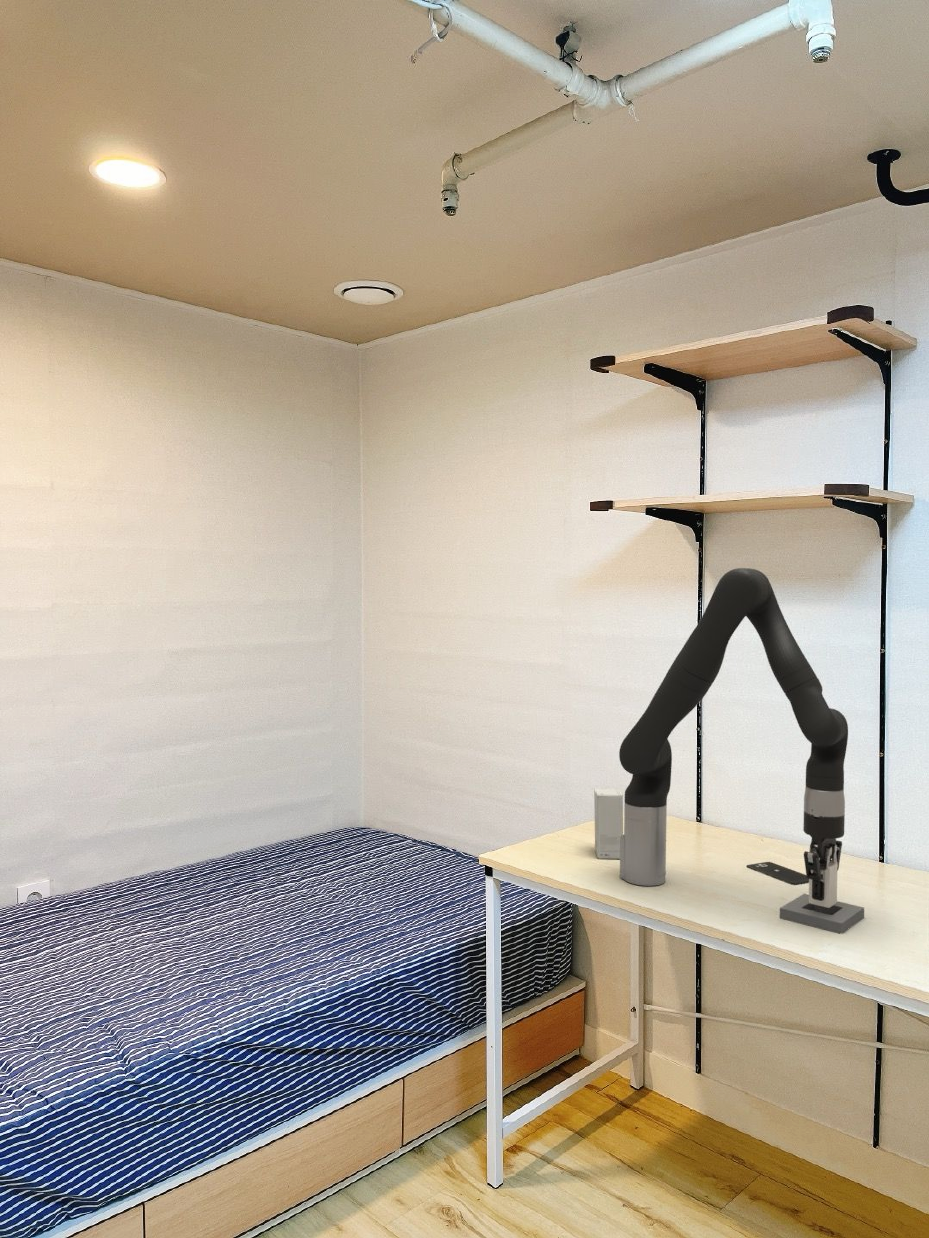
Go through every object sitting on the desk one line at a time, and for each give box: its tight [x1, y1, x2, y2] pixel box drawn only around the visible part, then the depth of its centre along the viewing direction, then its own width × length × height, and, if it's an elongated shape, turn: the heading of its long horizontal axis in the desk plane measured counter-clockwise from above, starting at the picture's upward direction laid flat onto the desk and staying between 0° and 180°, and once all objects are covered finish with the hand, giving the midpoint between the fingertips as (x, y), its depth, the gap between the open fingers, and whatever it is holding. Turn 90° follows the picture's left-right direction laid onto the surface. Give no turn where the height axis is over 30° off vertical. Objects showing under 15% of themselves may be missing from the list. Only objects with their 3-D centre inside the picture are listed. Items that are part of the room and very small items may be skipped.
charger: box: [808, 862, 839, 908], centre depth 179 cm, size 4×4×8 cm
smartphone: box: [746, 861, 809, 886], centre depth 208 cm, size 8×15×1 cm, turn 26°
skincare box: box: [593, 788, 624, 860], centre depth 221 cm, size 8×7×16 cm
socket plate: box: [779, 893, 865, 934], centre depth 179 cm, size 12×12×2 cm
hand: (822, 896), depth 179 cm, fingers closed on charger, 3 cm apart
